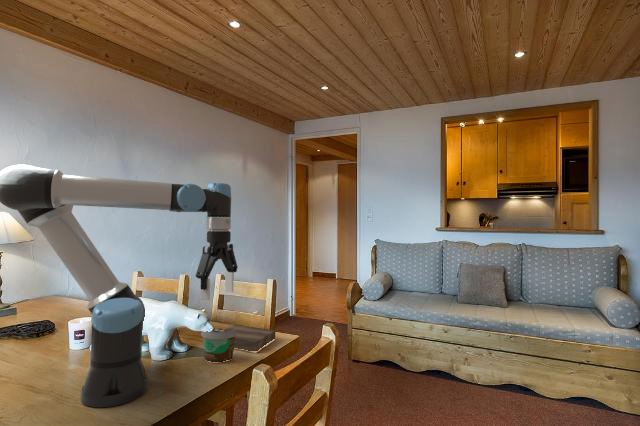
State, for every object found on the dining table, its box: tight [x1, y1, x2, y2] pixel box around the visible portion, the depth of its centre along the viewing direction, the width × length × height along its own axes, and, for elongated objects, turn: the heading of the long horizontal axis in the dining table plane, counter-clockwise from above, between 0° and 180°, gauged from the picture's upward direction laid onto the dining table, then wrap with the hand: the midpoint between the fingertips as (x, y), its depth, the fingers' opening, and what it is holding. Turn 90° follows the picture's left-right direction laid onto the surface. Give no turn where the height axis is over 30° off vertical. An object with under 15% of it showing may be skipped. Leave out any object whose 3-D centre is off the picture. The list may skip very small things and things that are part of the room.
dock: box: [223, 324, 277, 351], centre depth 133 cm, size 14×18×4 cm
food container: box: [200, 328, 237, 362], centre depth 116 cm, size 12×6×10 cm, turn 73°
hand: (217, 295), depth 117 cm, fingers open, 13 cm apart
